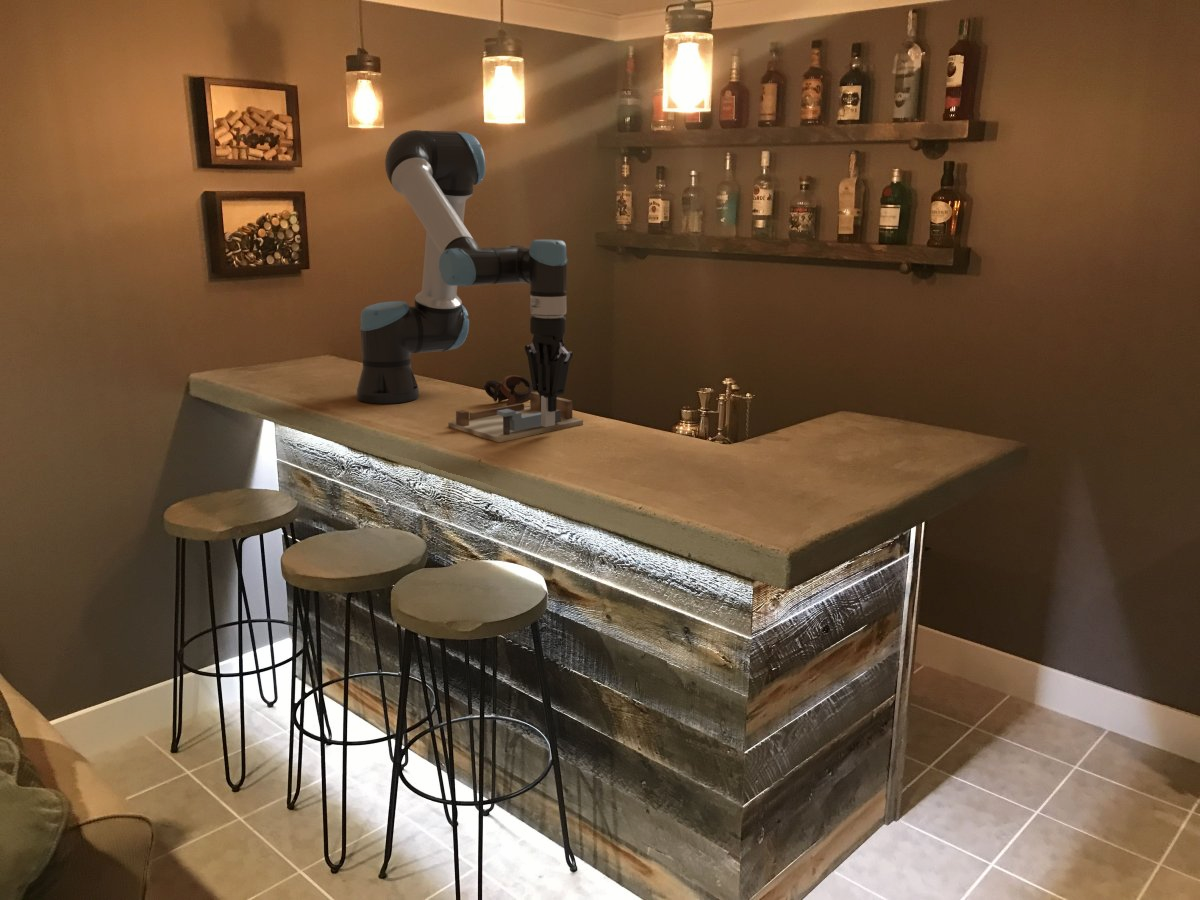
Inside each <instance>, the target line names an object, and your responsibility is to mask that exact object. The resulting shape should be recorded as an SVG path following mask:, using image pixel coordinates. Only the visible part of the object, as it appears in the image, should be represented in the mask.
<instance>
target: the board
mask: <svg viewBox="0 0 1200 900" xmlns="http://www.w3.org/2000/svg"><path fill="white" fill-rule="evenodd" d="M529 401H530V402H529V404H530V405H529V406H527V407H525V403H519V404H514V405H509V406H506V405H504V406H500V407H493V408H488V409H482V410H478V411H477V410H476V411H473V412H472V411H467V410H463V409H461V410H456V411H455V420H454V421H448V422H447V427H448V428H452V429H455V430H458V431H461V432H464V433H467V434H471V435H474V436H477V437H480V438H484V439H487V440H490V441H493V442H495V443H496V442H497V443H502V442H509V441H512V440H513V441H514V440H517V439H522V438H526V437H530V436H534V435H540V433H541V434H544V433H550V432H554V431H559V430H563V429H567V428H568V429H569V428H573V427H577V426H580V425H581V426H582V425H584V420H583V419H581V418H576V417H573V400H571V399H567V398H563V397H558V396H557V404H556V405H557V410H561V422H558V423H555V425H553V426H548V427H544V426H537V427H532V428H527V429H522V430H518V431H512V430H510V416H507V417H504V416H501V415H497V411H498V410H504V409H510V410H513V411H516V412H520V413H521V416H525V415H530V414H535V413H540V412H541V409H540V395H539V394H538V392H537V391H533V392H530V399H529Z"/></svg>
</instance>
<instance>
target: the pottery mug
mask: <svg viewBox="0 0 1200 900" xmlns="http://www.w3.org/2000/svg"><path fill="white" fill-rule="evenodd" d="M521 383H522V384H524V386H525V387H527V388H528V389H527V390H525V391H522V392H520V391H519V392H517V391H516V390H515V388H516V387H517V385H520V384H521ZM483 387H484V390H485V393H486V394H487V395H488V396H489V397H491V398H492V400H493V401H494V402H498V403H501V402H503V401H506V400H507V402H506V404H505V406H509V405H514V404H519V403H523V404H525V403H527V402H529V401H530V392H534V390H533V388H532V382H531V380H529V379H527V378H526V377H524V376H520V375H517V374H516V375H515V374H511V375H507V376H505V377H504V378H503V379H502V381H497V380H493V379H490V380H488V381H486V382H485V385H484V386H483Z"/></svg>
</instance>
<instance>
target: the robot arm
mask: <svg viewBox="0 0 1200 900" xmlns="http://www.w3.org/2000/svg"><path fill="white" fill-rule="evenodd" d="M384 164H385V166H384V167H385V172H386V176H387V179H388V180H389V183H390V184H391V185H392V187H393V189H394V190H395V191H396V192H397V193H398V194H400V195H403V196H404V198H405V200H406V201H407V203H408V204H409V205H410V207H411V209H412V211H413V212H414V214H415V215H416V216H417V218H418V220H419V221H420V223H421V225H422V227H423V228H424V230H425V231H426V233H425V234H426V235H425V247H424V257H423V258H424V260H423V271H422V285H421V291H419V292H418V293H417V294H416V295H415V297H414V305H413V306H409V304H408V302H407V301H403V300H394V301H385V302H384V301H383V302H379V303H378V302H377V303H375V304H370V305H368V306H366V307H364V308H363V309H361V312H360V325H359V329H360V341H361V355H362V356H361V357H362V370H361V373H360V376H359V380H358V384H357V388H356V399H357V400H358V401H360V402H362V403H367V404H368V403H370V404H378V405H379V404H384V405H385V404H399V403H407V402H410V401H414V400H417V399H418V398H419V397H420V388H419V385H418V382H417V380H416V377H415V375H414V371H413V369H412V366H411V355H413V354H421V353H422V354H423V353H431V352H432V353H434V352H446V351H450V350H456V349H458V348H460V347H461V346H462V345H463V344H464V343H465V341H466V339H467V337H468V334H469V329H470V319H469V312H468V311H467V309H466V307H465V306H464V305H463V304H462V303H463V301H462V299H461V298H460V297H459V296H458V287H469V286H471V287H472V286H482V285H483V286H484V285H499V284H500V285H501V284H503V285H505V284H517V283H518V284H519V283H521V284H529V286H530V287H529V288H530V289H529V290H530V292H529V295H530V296H529V297H530V300H529V301H530V307H529V309H530V311H529V312H530V314H531V315H532V316H531V317H530V321H529V323H530V326H529V327H530V328H529V332H530V334H532V335H533V338H532V340H531V341H532V342H531V343H530V344H528V345H524V351H525V353H526V356H527V361H528V367H529V373H530V382H531V385H532V390H533V392H538V394H539V395H540V409H541V426H544V427H548V426H553V425H555V411H556V409H557V405H556V404H557V397H558V396H560V395H563V394H564V393H565V389H566V383H567V376H568V372H569V366H570V363H571V359H572V358H573V356H574V355H573V354H574V353H573V352H572V351H568V350H567V349H566V348H565V342H564V336H565V334H567V318H566V314H567V311H568V310H567V284H568V283H567V279H568V278H567V275H568V258H567V244H566V242H565V241H564V240H562V239H549V238H548V239H545V238H544V239H542V238H541V239H533V240H532V241H531V242H530V243H529V245H530V246H529V247H528V246H527V247H526V246H524V245H508V246H505V247H504V246H503V247H480V246H479V245H478V243H477V242H476V241H475V239H474V237H473V236H472V235H471V233H470V231H469V230H468V229H467V227H466V225H465V223H464V219H465V211H466V201H467V200H468V199H469V198H471V197H472V196H473V195H474V194H473V193H474V185H475V186H477V185H478V184H479V185H480V183H482V182H483V179H484V177H485V174H486V158H485V153H484V150H483V147H482V145H481V143H480V141H479V140H478V139H477V138H476V136H474V135H473V134H471V133H468V132H461V131H456V130H455V131H449V130H447V131H446V130H445V131H443V130H421V129H420V130H419V129H418V130H417V129H414V130H413V129H412V130H408V131H405V132H403V133H401V134H399V135H398V136H397V137H395V139H394V140H393V141H392V142H391V143H390V145H389V147H388V149H387V151H386V154H385V161H384ZM564 315H565V316H564Z"/></svg>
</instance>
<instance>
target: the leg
mask: <svg viewBox="0 0 1200 900" xmlns="http://www.w3.org/2000/svg"><path fill="white" fill-rule="evenodd" d="M497 415H501V416H504V417H507V416H510V430H512V431H518V430H522V429H527V428H532V427H537V426H541V412H540V413H535V414H530V415H525V416H521V413H520V412H516V411H513V410H510V409H504V410H498V411H497ZM558 422H561V410H557V409H556V411H555V423H558Z"/></svg>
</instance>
